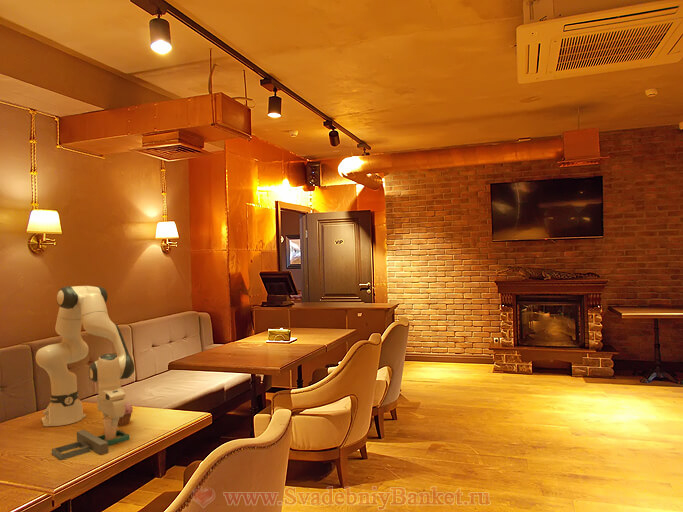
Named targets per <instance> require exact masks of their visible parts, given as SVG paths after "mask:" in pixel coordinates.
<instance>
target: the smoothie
mask: <svg viewBox="0 0 683 512" xmlns="http://www.w3.org/2000/svg"><path fill="white" fill-rule="evenodd" d="M112 420H113V419H112V417H111V416H109V417H105V418H104V417H103V418H102V422H103V428H104V429H103V430H104V434H105V440H104V441H108V440H111V439H115V438H117V436H116V431H118V421H117V426H115V427H113V426H112ZM118 420H119V418H118Z"/></svg>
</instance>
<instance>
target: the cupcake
mask: <svg viewBox="0 0 683 512" xmlns="http://www.w3.org/2000/svg"><path fill="white" fill-rule="evenodd" d="M133 410H134V409H133V406H132V404H131V403H130V402H125V413H124V416H123V417H120V418H119V420H118V425H119V426H126V425H127V424H129V423H130V421H131V416H132V413H133ZM118 425H117V426H118Z"/></svg>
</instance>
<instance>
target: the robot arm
mask: <svg viewBox="0 0 683 512" xmlns="http://www.w3.org/2000/svg"><path fill="white" fill-rule="evenodd" d="M108 295H109V294H108V292H107V290H106V288H104V287H102V286H97V285H96V286H92V285H77V286H76V285H74V286H71V285H69V286H63V287H61V288H59V289H58V292H57V294H56V303H57V305H58V306H59V308H58V312H57V317H56V322H55V328H54V329H55V333H56V334H57V335H59V336H60V337H61V341H60V342H58V343H53V344H48V345H45V346H43V347H41V348H39V349H38V350H37V351H36V353H35V362H36V364H37V365H38V367H40V368H41V369H43V370H45V372H47V374H48V377H49V380H50V389H51V394H50V397H49V402H50V403H49V404H48V405H47V407H46V409H45V410H43V411H42V413H43V416H44V417H41V423H42V426H43V427H45V428H46V427H58V426H65V425H66V426H67V425H70V424H74V423H77V422H80V421H82V419H84V418H86V417H87V414H86V413H84V411H83V402H82V400H80V399H79V396H80V395H79V390H78V378H77V375H76V373H74V372H73V371H69V369H68V364H69V365H70V364H72V363H76V362H77V363H78V362H79V361H81V360H83V359H85V358H86V357H88V354H89V346H88V344H87V343H86V341H84V339H83V337H82V333H81V332H82V327H83V330H85V331H86V332H87V333H88V334H91V335H92V336H96V337H101V338H105V339H108V340H110V341H111V342H112V344H113V346H114V349H115V352H116V354H115V353H104V354H102V355H100V356H99V357H98V360H96V361H93V362H92V363H91V364H90V365H89V367H88V376H89V377H88V379H89V380H91V381H92V382H94V383H98V386H97V388H98V392H97V394H98V395H97V399H96V400H97V405H96V407H97V411H98V412H101V413H102V416H103V418H105V417H109V416H111V417H112V419H113V420H112V426H113V427H115V426H117V427H118V425H117V421H118V418H120V417H123V416H124V413H125V403H126V402H125V398H126V392H125V391H124V390H123V388H122V382H121V380H125V379H129V378H130V377H131V376H132V375H133V373H134V372H135V363H134V361H133V358H132V356H131V354H130V352H129V350H128V348H127V344H126V341H125V339H124V337H123V334H122V331H121V329H120V327H119V326H118V325H117V323H114V322H113V321H112V320H111V319H110V317H109V313H108V312H109V311H108V308H107V303H108V298H109V296H108Z"/></svg>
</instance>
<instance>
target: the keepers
mask: <svg viewBox="0 0 683 512" xmlns="http://www.w3.org/2000/svg"><path fill="white" fill-rule="evenodd" d="M97 437H98V438H100V439H102V440H104V439H105V433H104V434H101V435H97ZM130 437H131V436H130V434H129V433H127V432H124V431H122V430H120V429H117V431H116V437H115V439H111V440H108V441H106V442H108V447H109V446H112V445H113V446H114V445H117V444H119V443H122V442H126V441H129V440H130V439H131V438H130ZM104 441H105V440H104ZM76 448H77V449H76ZM73 449H74V450H73ZM69 450H70V451H69ZM66 451H67V452H66ZM89 452H91V449H90V446H89V445H87V444H85V443H84V442H82V441H76V442H71V443H68V444H65V445H64V444H63V445H61V446H58V447H54V448H51V455H52V456H54V457H56V459H58V460H60V461H63V460H66V459H70V458H73V457H76V456H79V455H83V454H86V453H89Z"/></svg>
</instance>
